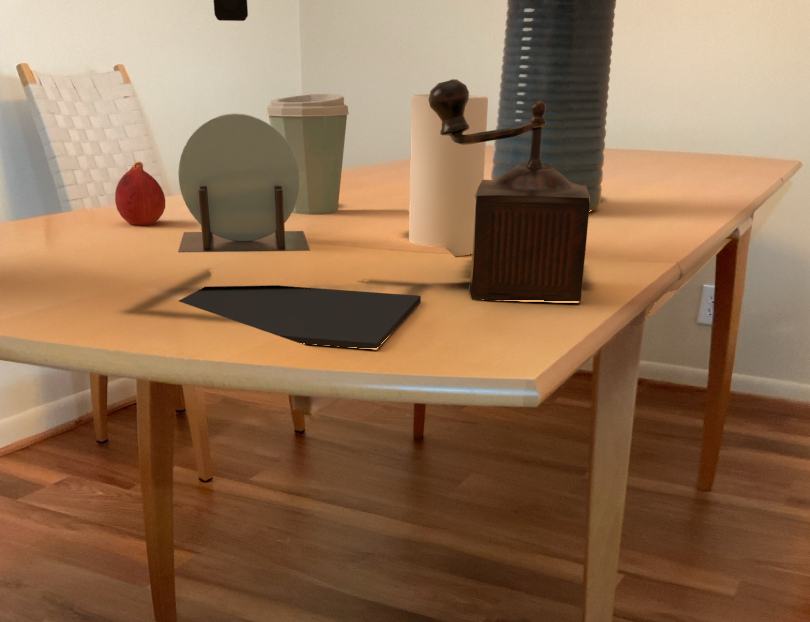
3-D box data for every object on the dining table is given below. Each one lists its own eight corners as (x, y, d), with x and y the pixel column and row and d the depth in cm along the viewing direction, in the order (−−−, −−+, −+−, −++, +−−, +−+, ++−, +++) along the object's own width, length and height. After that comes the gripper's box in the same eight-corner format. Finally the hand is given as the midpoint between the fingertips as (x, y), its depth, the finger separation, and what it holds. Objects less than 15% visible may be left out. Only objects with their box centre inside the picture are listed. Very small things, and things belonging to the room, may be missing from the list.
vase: (622, 209, 135) (653, -43, 120) (550, 220, 125) (575, -53, 111) (537, 196, 146) (556, -37, 131) (465, 205, 136) (477, -46, 121)
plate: (302, 240, 103) (296, 113, 97) (185, 243, 102) (171, 114, 95) (301, 238, 104) (296, 113, 98) (185, 241, 103) (172, 113, 96)
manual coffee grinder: (577, 279, 93) (597, 81, 85) (582, 305, 83) (606, 85, 75) (425, 272, 95) (430, 78, 86) (413, 298, 85) (418, 81, 76)
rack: (310, 259, 99) (308, 191, 96) (178, 261, 97) (171, 191, 94) (303, 239, 110) (301, 177, 106) (184, 240, 108) (178, 177, 104)
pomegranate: (133, 237, 109) (124, 165, 105) (110, 230, 112) (101, 160, 109) (176, 232, 112) (169, 162, 108) (153, 226, 116) (146, 158, 112)
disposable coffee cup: (318, 226, 118) (315, 97, 110) (254, 218, 123) (247, 94, 115) (365, 216, 125) (365, 95, 118) (303, 208, 130) (299, 92, 123)
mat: (136, 330, 74) (135, 323, 73) (216, 287, 87) (215, 280, 87) (377, 351, 70) (377, 343, 69) (420, 302, 84) (420, 295, 83)
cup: (453, 259, 101) (460, 98, 93) (394, 249, 105) (396, 95, 98) (493, 248, 107) (502, 96, 99) (435, 240, 111) (440, 93, 103)
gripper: (180, -175, 92) (196, 20, 100) (170, -216, 77) (190, 17, 85) (255, -171, 93) (265, 21, 102) (259, -212, 78) (271, 18, 87)
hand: (231, 19), depth 93 cm, fingers open, 9 cm apart
